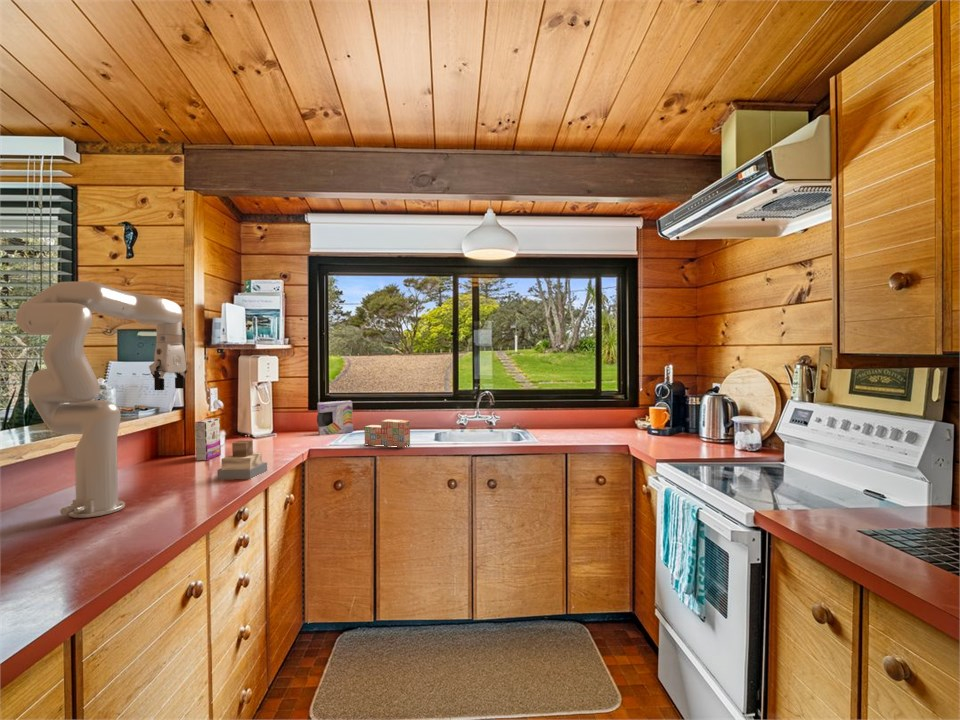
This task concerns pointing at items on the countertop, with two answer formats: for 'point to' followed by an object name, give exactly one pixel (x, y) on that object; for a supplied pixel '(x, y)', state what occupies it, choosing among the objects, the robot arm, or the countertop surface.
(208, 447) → the candy bar box
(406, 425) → the stack of blocks
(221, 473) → the slate base block
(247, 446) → the walnut cube
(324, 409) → the cake pan box
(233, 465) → the pale birch block
